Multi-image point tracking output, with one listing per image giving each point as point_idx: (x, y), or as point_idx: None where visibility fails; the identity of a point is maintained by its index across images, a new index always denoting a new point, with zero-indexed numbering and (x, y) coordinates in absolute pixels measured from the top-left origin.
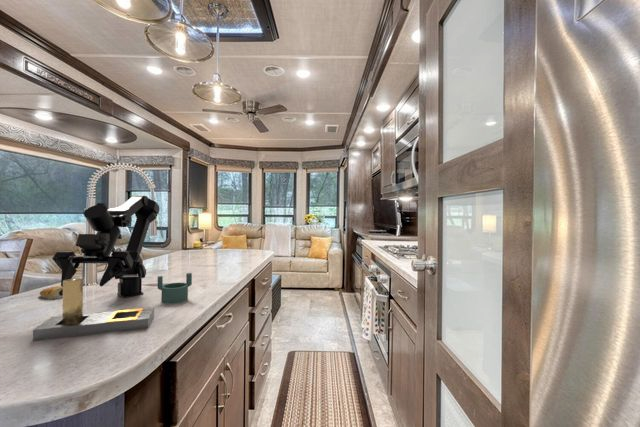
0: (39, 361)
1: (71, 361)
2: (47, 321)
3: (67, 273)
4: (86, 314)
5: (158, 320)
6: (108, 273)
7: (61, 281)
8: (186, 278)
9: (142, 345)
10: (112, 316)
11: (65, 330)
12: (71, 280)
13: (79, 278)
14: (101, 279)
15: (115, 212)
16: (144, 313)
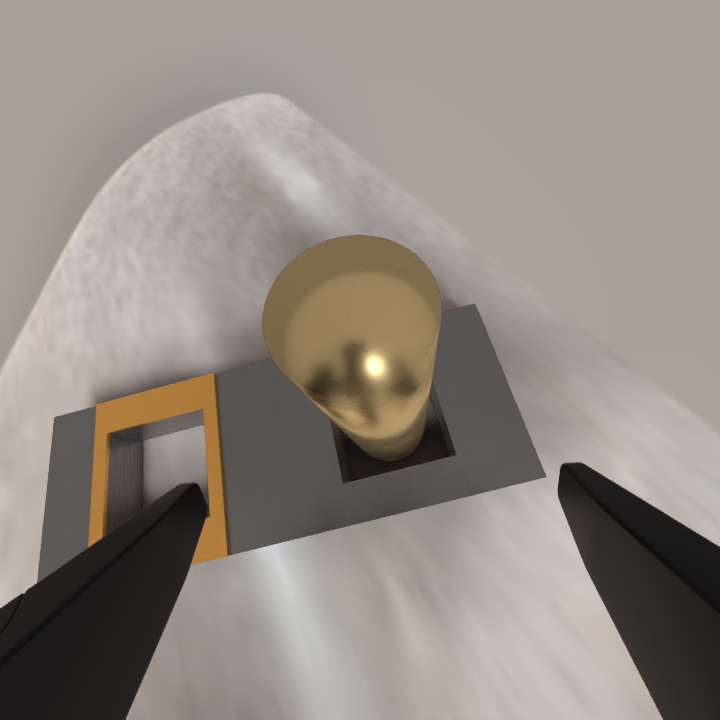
0: (324, 202)
1: (242, 205)
2: (504, 404)
3: (702, 630)
4: (370, 506)
5: None
6: (31, 595)
7: (615, 485)
8: None
9: (91, 286)
10: (211, 448)
11: None
12: (348, 284)
13: (324, 379)
14: (155, 513)
15: None
16: (76, 498)
